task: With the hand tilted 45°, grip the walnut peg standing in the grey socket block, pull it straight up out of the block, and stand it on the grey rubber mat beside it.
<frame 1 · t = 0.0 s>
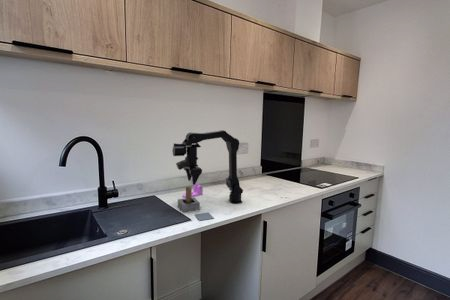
hand: (191, 182, 137), 15 cm above the worktop, tool pointing down, fingers open, 9 cm apart
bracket: (192, 196, 160), on the worktop
rubber mat: (204, 216, 127), on the worktop
walnut peg: (188, 197, 138), in the grey socket block
grey socket block: (188, 207, 138), on the worktop
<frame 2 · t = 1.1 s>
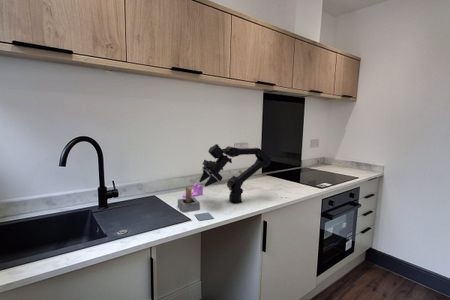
hand: (202, 183, 140), 13 cm above the worktop, tool tilted 45°, fingers open, 9 cm apart
nothing on the worktop moved.
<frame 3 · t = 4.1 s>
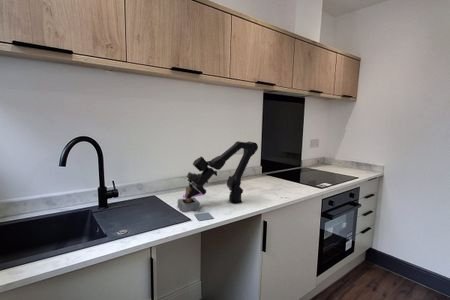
hand: (186, 197, 137), 7 cm above the worktop, tool tilted 45°, fingers closed on walnut peg, 3 cm apart
walnut peg: (188, 197, 138), in the grey socket block, touching gripper
everything else where it was.
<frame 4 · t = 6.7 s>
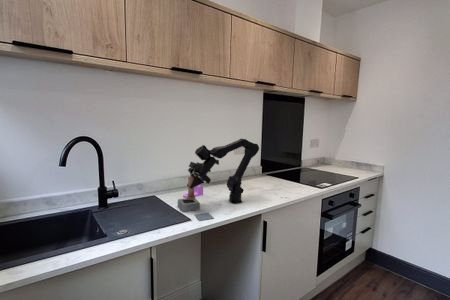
hand: (188, 187, 132), 13 cm above the worktop, tool tilted 45°, fingers closed on walnut peg, 3 cm apart
walnut peg: (191, 187, 133), point 13 cm above the worktop, touching gripper
everything else where it was.
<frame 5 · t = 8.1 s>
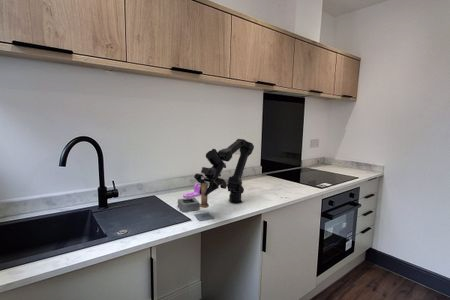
hand: (202, 194, 124), 12 cm above the worktop, tool tilted 45°, fingers closed on walnut peg, 3 cm apart
walnut peg: (204, 195, 125), point 12 cm above the worktop, touching gripper
everything else where it was.
when the fingers open (8 cm above the worktop, at t = 9.2 s): walnut peg stays where it is, resting on rubber mat.
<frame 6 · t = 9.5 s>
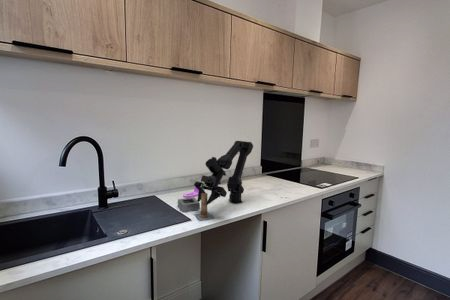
hand: (202, 202, 124), 8 cm above the worktop, tool tilted 45°, fingers open, 6 cm apart
walnut peg: (204, 205, 126), on the rubber mat
everything else where it was.
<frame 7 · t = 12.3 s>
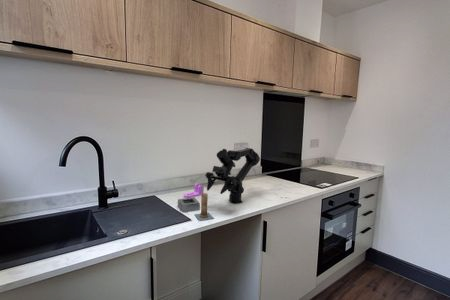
hand: (213, 191, 131), 12 cm above the worktop, tool tilted 45°, fingers open, 9 cm apart
nothing on the worktop moved.
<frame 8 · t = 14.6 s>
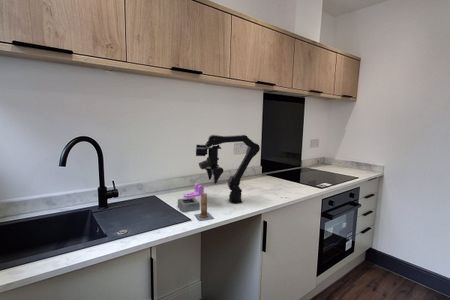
hand: (212, 181, 147), 13 cm above the worktop, tool pointing down, fingers open, 9 cm apart
nothing on the worktop moved.
at the end: walnut peg inside the target area (0.0 cm from its centre), resting on rubber mat; walnut peg tilted 1°; the gripper is holding nothing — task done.
